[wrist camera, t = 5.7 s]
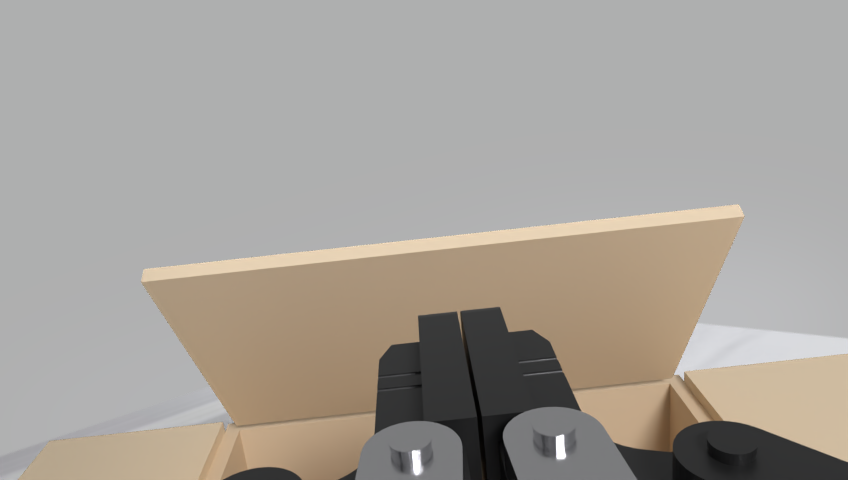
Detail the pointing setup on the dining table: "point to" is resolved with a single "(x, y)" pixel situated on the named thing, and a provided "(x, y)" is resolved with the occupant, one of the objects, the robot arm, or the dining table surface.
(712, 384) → the carton
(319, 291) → the flap
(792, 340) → the dining table surface
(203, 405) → the dining table surface
